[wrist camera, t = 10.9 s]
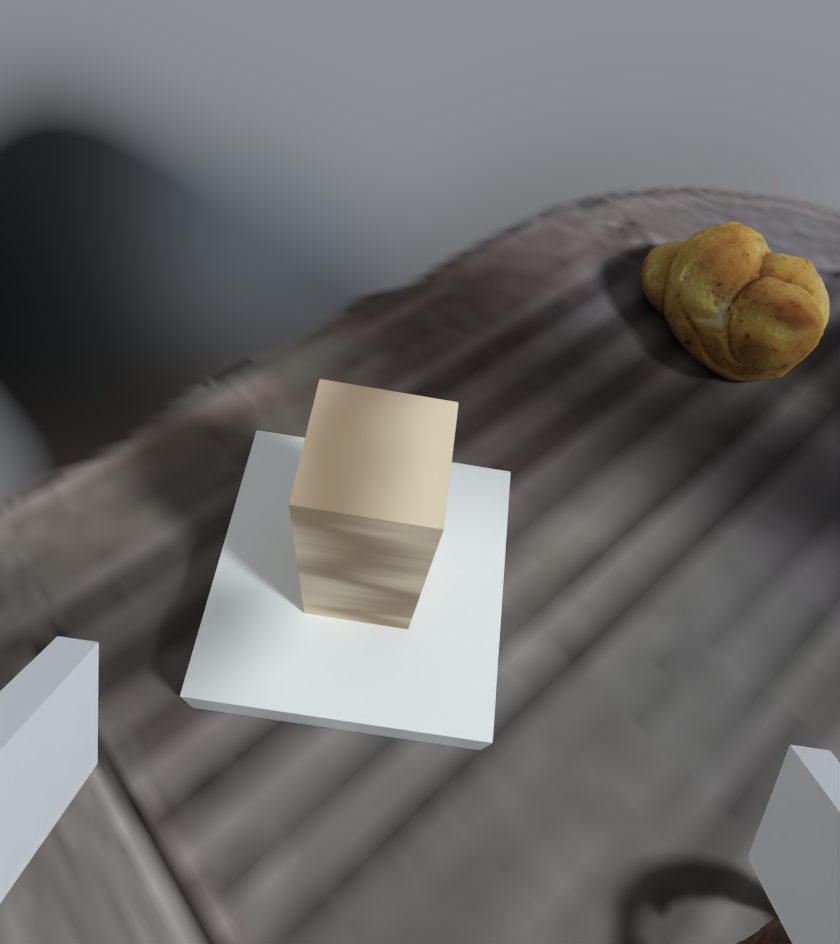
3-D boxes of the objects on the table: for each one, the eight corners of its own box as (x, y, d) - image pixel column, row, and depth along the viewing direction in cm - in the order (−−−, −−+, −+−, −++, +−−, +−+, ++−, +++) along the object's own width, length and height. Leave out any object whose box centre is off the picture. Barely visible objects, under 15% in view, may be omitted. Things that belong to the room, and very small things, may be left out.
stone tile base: (498, 495, 39) (510, 472, 37) (479, 750, 33) (492, 743, 30) (262, 457, 39) (256, 430, 36) (192, 707, 32) (179, 696, 29)
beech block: (420, 533, 34) (458, 402, 24) (408, 629, 32) (443, 529, 21) (324, 518, 34) (319, 378, 24) (304, 613, 32) (288, 504, 21)
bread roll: (603, 292, 48) (649, 200, 41) (693, 245, 52) (748, 154, 45) (733, 421, 44) (809, 343, 37) (821, 361, 48) (905, 279, 41)
